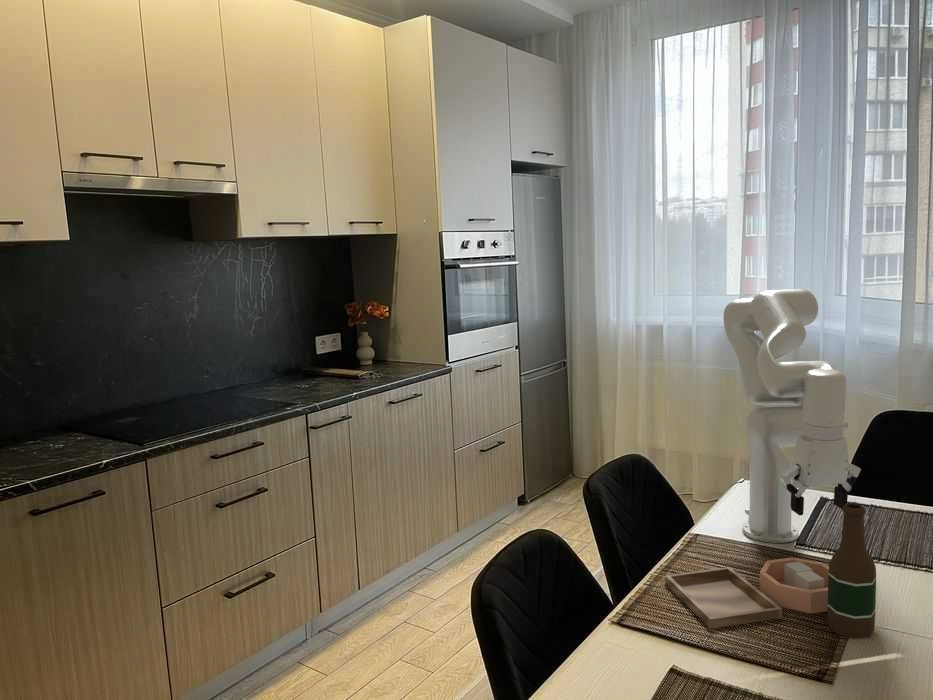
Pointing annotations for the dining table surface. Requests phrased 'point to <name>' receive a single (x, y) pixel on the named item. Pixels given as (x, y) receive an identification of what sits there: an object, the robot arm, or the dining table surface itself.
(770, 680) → the dining table surface
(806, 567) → the off-white matte cube
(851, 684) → the dining table surface
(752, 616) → the walnut tray
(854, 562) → the beer bottle
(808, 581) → the white sharp-edged block
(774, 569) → the bowl
